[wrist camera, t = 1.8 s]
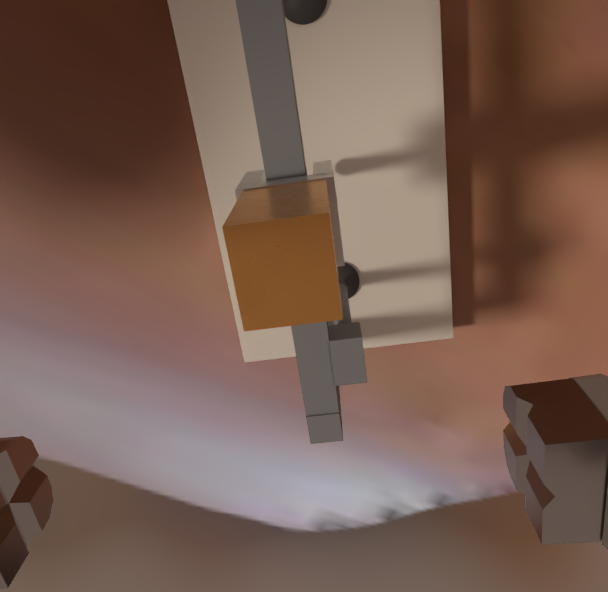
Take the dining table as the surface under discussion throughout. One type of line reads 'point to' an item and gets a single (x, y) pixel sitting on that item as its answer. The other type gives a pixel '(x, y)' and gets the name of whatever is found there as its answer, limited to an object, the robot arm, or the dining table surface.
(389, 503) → the dining table surface
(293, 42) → the hole plate
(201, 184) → the dining table surface
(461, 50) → the dining table surface
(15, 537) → the robot arm
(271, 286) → the leg
